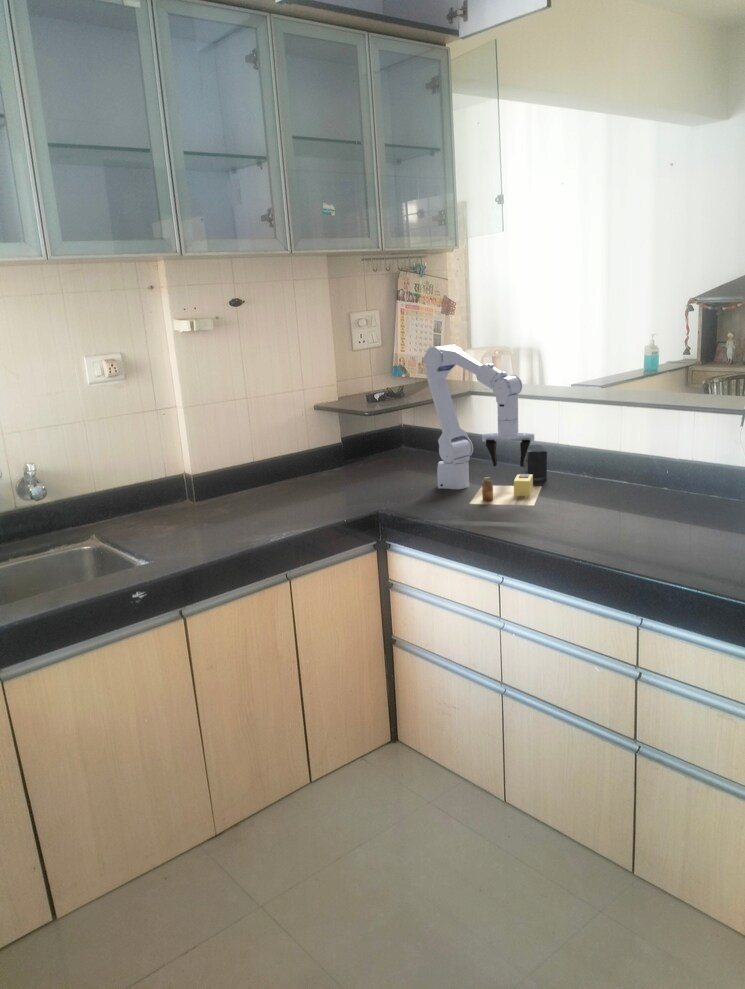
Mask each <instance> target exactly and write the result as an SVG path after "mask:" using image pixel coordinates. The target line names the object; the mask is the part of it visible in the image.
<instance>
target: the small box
mask: <svg viewBox="0 0 745 989" xmlns="http://www.w3.org/2000/svg"><path fill="white" fill-rule="evenodd" d="M547 470H548V451H547V450H546V448H544V447H543V446H542V444H534V445H533V444H529V447H528V449H527V452H526V455H525V459H524V466H523V467H521V474H533V482H543V481H547V480H548V479H547V478H548V476H547V475H548V474H547V473H548V471H547Z"/></svg>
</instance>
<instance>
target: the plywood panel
mask: <svg viewBox="0 0 745 989" xmlns="http://www.w3.org/2000/svg"><path fill="white" fill-rule="evenodd" d="M542 487H543V486H542V485H541V486H540V485H539V486H535V485H533V490H532V492H531V495H530V496H514V485H494V484H493V501H483V498H482V486H481V487H480V488H479V490H477V492H476V493H475V495H474V496H473V498H472V499H471V500H470V502H469V505H488V506H489V505H491V506H492V505H494V506H496V505H497V506H499V505H500V506H528V507H531V506H532V507H534V506H535V504H536V502H537V500H538V498H539V494H540V492H541V490H542Z"/></svg>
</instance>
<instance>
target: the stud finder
mask: <svg viewBox="0 0 745 989" xmlns="http://www.w3.org/2000/svg"><path fill="white" fill-rule="evenodd" d="M513 486H514V496H530V495H531V492H532V490H533V486H534V481H533V474H522V473H519V474H516V476H515V478H514V480H513Z"/></svg>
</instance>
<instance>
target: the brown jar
mask: <svg viewBox="0 0 745 989" xmlns="http://www.w3.org/2000/svg"><path fill="white" fill-rule="evenodd" d="M493 482H494V481H493V480H492V478H491V477H490V476H487V477H486V476H484V477H483V480H482V481H481V487H482V498H483V501H493V485H494V483H493Z"/></svg>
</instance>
